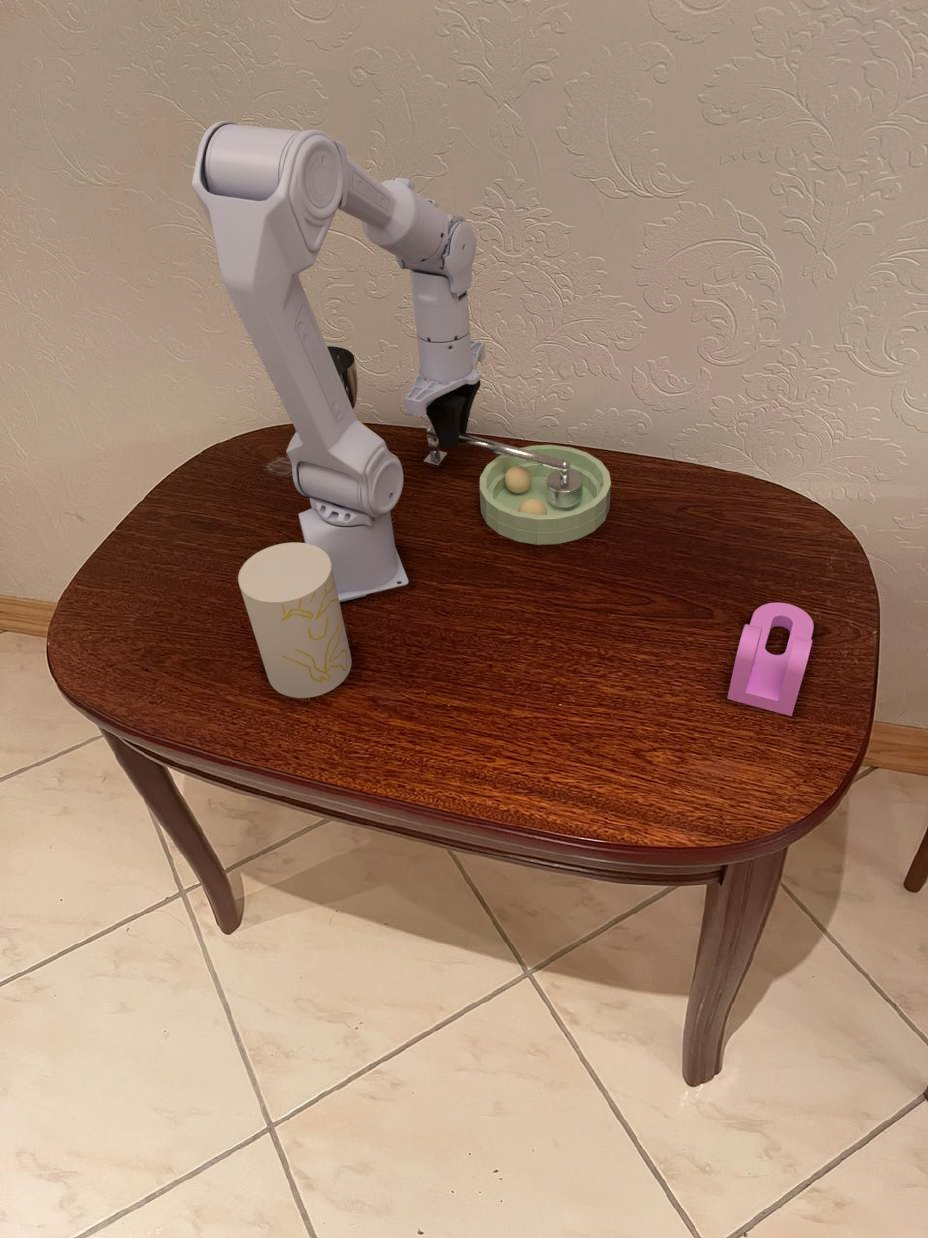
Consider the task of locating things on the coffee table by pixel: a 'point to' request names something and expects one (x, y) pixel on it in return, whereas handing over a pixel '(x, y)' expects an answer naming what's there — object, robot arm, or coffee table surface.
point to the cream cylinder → (296, 618)
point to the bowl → (545, 498)
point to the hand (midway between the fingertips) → (452, 441)
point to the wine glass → (346, 371)
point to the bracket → (772, 659)
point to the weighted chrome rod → (560, 483)
